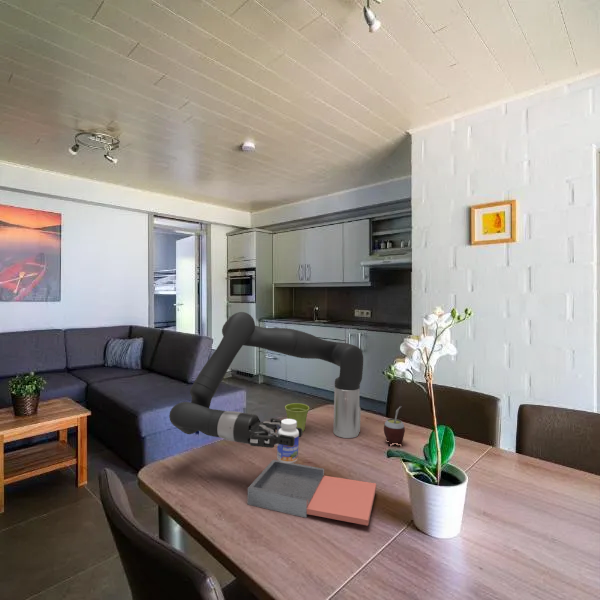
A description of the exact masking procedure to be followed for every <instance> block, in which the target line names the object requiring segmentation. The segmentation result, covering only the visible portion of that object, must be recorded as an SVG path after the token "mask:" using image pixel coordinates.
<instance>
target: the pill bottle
mask: <svg viewBox="0 0 600 600" xmlns="http://www.w3.org/2000/svg"><path fill="white" fill-rule="evenodd" d="M281 420H282V421H281V427H282V428H280V429H279V431H278V434H279V436H280V435H287V436H293V437H294V438H295V444H294V445H293V446H287V445H281V444H279V445H276V446H277V449H276V458H277V459H276V460H278V461H280V462H283V463H295V462H297V461H298V458H299V442H300V441H299V439H300V437H299V431H298V430H297V429H296V427H297V421H296V420H294V419H287V418H284V419H281Z"/></svg>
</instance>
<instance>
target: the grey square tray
mask: <svg viewBox="0 0 600 600" xmlns="http://www.w3.org/2000/svg"><path fill="white" fill-rule="evenodd" d="M324 476H325V468H322V467H321V468H320V467H316V466H310V465H306V464H300V463H295V462H293V463H283V462H280V461H279V460H278V459H272V460H271V461H270V462H269V463H268V464H267V466H266V467H265V468H264V469H263V470H262V471H261V473H259V475H258V476H257V477H256V478H255V479H254V480H253V481H252V483H251V484H250V485H249V486H248V487H247V505H249V506H253V507H258V508H261V509H262V508H263V509H266V510H270V511H275V512H278V513H283V514H287V515H292V516H297V517H302V518H305V519H307V518H308V516H309V514H307V507H308V505H309V503H310V501H311V499H312V498H313V496H314V494H315V492H316V490H317V488H318V486H319V484H320V482H321V480H322V478H323V477H324Z"/></svg>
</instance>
